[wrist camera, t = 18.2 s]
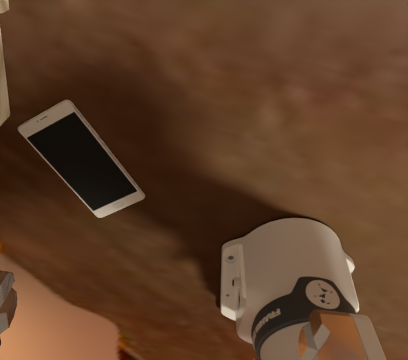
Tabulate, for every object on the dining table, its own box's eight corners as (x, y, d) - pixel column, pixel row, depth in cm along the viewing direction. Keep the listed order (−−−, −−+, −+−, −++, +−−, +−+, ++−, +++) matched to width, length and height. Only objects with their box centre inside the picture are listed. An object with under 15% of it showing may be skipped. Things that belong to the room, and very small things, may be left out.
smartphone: (98, 219, 50) (14, 128, 42) (99, 216, 50) (16, 125, 43) (146, 198, 48) (68, 98, 40) (147, 195, 48) (69, 95, 41)
